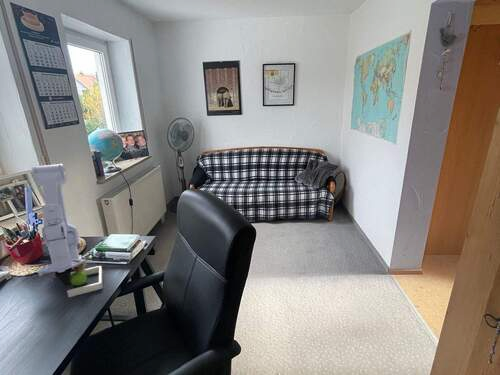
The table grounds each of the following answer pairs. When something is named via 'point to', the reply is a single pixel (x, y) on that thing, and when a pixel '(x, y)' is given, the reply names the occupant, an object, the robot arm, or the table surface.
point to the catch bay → (89, 287)
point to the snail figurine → (78, 273)
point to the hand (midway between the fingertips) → (67, 285)
